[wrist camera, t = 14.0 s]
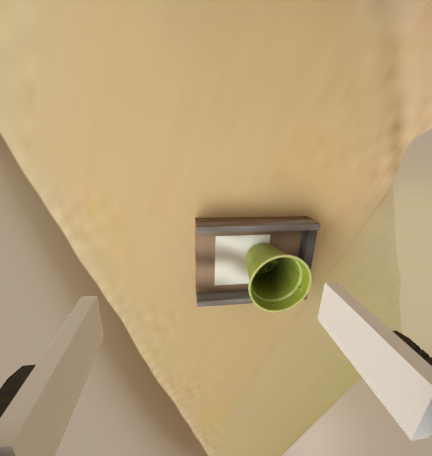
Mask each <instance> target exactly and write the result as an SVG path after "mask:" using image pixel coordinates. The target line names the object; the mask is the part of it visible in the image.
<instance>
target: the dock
mask: <svg viewBox="0 0 432 456" xmlns="http://www.w3.org/2000/svg"><path fill="white" fill-rule="evenodd" d="M319 228H320V224H319V223H317V222H315V221H314V220H312V219H310V218H308V217H307V216H301V217H247V218H195V241H196V298H197V307H204V306H218V305H233V304H247V303H253V302H252V300H251V298H250V295H249V291H248V285H249V276H248V272H247V268H246V265H245V257H246V255H247V252H248V250H249V249H250V248H251V247H252V246H254V245H256V244H258V243H268V244H271V245H273V246H275V247H276V248H278V249H279V250H281V251H282V252H284V253H285V254H288V255H293V256H296V257H298V258H300V259H302V260H303V261H304V262H305V263H306V264H307V265H308V267H309V269H311V263H312V257H313V252H314V246H315V240H316V235H317V230H319ZM268 268H270V266H269V267H267V268H265V269H264V270H267V269H268ZM306 299H307V295H306V296H305V298H304V299H303V300H306Z"/></svg>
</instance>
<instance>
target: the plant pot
mask: <svg viewBox="0 0 432 456" xmlns="http://www.w3.org/2000/svg"><path fill="white" fill-rule="evenodd" d="M245 265H246V268H247V272H248V276H249V285H248V291H249V295H250V298H251V300H252V302H253V303H254V304H255V305H256V306H257V307H259V308H260V309H262V310H264V311H268V312H280V311H285V310H288V309H290V308H292V307H294V306H296V305H297V304H298V303H299V302H301V301H302V300H303V299H304V298H305V296H306V295H307V293H308V292H309V289H310V287H311V283H312V275H311V271H310V269H309V267H308V265H307V264H306V263H305V262H304V261H303V260H302V259H300V258H298V257H296V256H293V255H288V254H285V253H284V252H282V251H281V250H279V249H278V248H276V247H275V246H273V245H271V244H268V243H258V244H256V245H254V246H252V247H251V248H250V249H249V250H248V252H247V255H246V257H245ZM269 266H270V268H268V269H267V270H264V269H265V268H267V267H269Z"/></svg>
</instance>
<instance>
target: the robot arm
mask: <svg viewBox="0 0 432 456" xmlns="http://www.w3.org/2000/svg"><path fill="white" fill-rule="evenodd" d="M318 321H319V322H320V323H321V324H322V326H323V327H324V328H325V330H326V331H327V332H328V333H329V335H330V336H331V337H332V339H333V340H334V341H335V342H336V344H337V345H338V346H339V348H340V349H341V350H342V352H343V353H344V354H345V355H346V357H347V358H348V359H349V361H350V362H351V363H352V364H353V366H354V367H355V368H356V370H357V371H358V372H359V374H360V375H361V376H362V377H363V378H364V380H365V381H366V382H367V384H368V385H369V386H370V388H371V389H372V390H373V391H374V393H375V394H376V396H377V397H378V398H379V399H380V401H381V402H382V403H383V404H384V406H385V407H386V408H387V410H388V411H389V412H390V413H391V415H392V416H393V417H394V419H395V420H396V421H397V423H398V424H399V425H400V427H401V428H402V429H403V430H404V432H405V433H406V434H407V436H408V437H409V438H410V439H411V441H412V440H418V439H424V438H429V436H430V435H431V433H432V358H430V357H429V355H428V354H427V353H425V351H423V350H421V349H420V347H419V346H418V345H416V344H415V343H414V342H413V341H412V340H410V339H409V338H408V337H406V336H404V335H403V334H401V333H399V332H397V331H392V330H390V329H389V328H388V327H387V326H386V325H385V324H384V323H383V322H381V321H380V320H379V319H378V318H377V317H376V316H375V315H374V314H372V313H371V312H370V311H369V310H368V309H367V308H366V307H365V306H363V305H362V304H361V303H360V302H359V301H358V300H357V299H356V298H354V297H353V296H352V295H351V294H350V293H349V292H348V291H347V290H345V289H344V288H343V287H342V286H341V285H340V284H339V283H338V282H325V285H324V290H323V295H322V300H321V305H320V310H319V315H318ZM103 338H104V335H103V329H102V323H101V317H100V311H99V306H98V300H97V296H88V297H81V298H80V300H79V301H78V303H77V305H76V306H75V307H74V309H73V310H72V312H71V313H70V315H69V316H68V318H67V319H66V321H65V322H64V324H63V325H62V327H61V328H60V330H59V331H58V333H57V334H56V336H55V337H54V339H53V340H52V342H51V343H50V345H49V346H48V348H47V349H46V351H45V352H44V354H43V355H42V357H41V358H40V360H39V361H38V363H37V364H36V365H28V366H22V367H21V368H20V369H18V370H17V371H16V372H15V373H14V374H13V375H12V376H10V377H9V378H8V379H7V380H6V382H5V383H4V384H3V386H2V387H1V388H0V456H55V454H56V451H57V449H58V446H59V444H60V442H61V439H62V437H63V434H64V432H65V430H66V427H67V425H68V422H69V420H70V418H71V415H72V413H73V410H74V408H75V405H76V403H77V401H78V398H79V396H80V393H81V391H82V388H83V386H84V384H85V381H86V379H87V376H88V374H89V371H90V369H91V366H92V364H93V362H94V359H95V357H96V355H97V352H98V350H99V347H100V345H101V342H102V340H103Z"/></svg>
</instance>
